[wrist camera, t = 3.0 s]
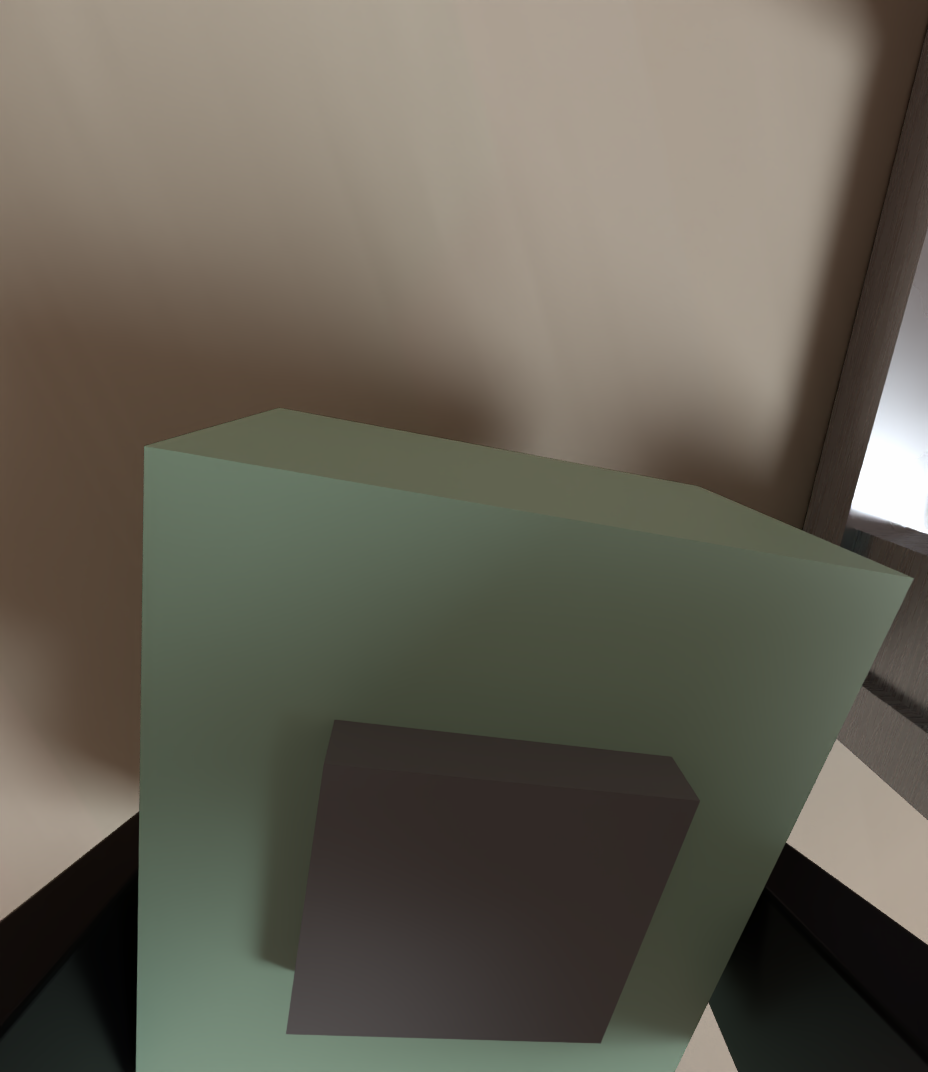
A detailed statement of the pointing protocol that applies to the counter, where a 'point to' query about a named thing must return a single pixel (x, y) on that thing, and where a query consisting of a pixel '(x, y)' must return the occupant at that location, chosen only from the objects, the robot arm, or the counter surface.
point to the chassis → (888, 464)
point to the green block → (464, 748)
